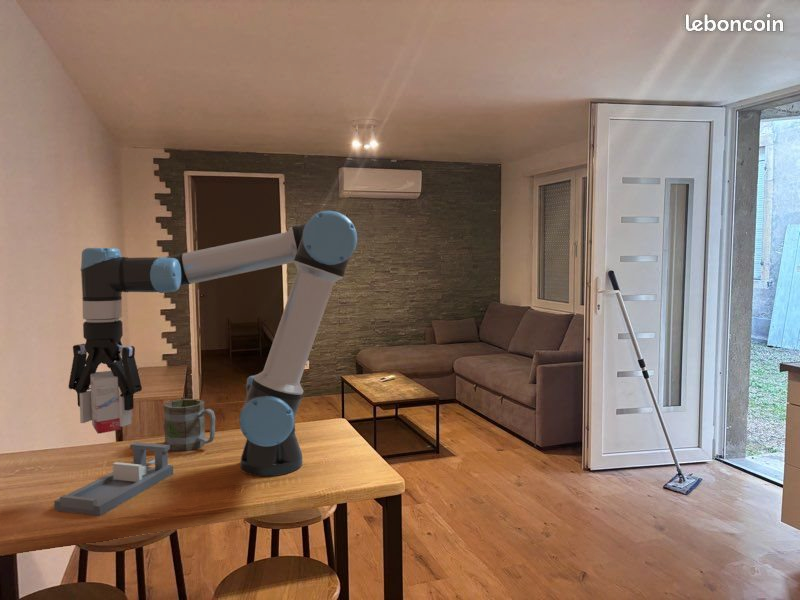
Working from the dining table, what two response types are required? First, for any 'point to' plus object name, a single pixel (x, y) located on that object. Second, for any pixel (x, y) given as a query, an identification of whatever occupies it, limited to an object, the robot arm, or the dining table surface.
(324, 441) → the dining table surface
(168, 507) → the dining table surface
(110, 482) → the lane
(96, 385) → the ink box
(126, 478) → the pusher
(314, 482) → the dining table surface
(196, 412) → the mug
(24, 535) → the dining table surface
